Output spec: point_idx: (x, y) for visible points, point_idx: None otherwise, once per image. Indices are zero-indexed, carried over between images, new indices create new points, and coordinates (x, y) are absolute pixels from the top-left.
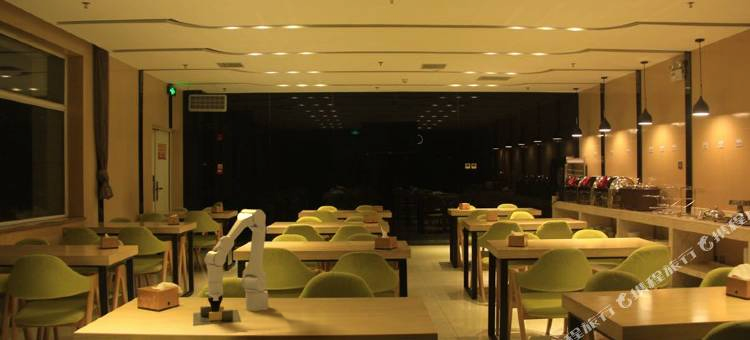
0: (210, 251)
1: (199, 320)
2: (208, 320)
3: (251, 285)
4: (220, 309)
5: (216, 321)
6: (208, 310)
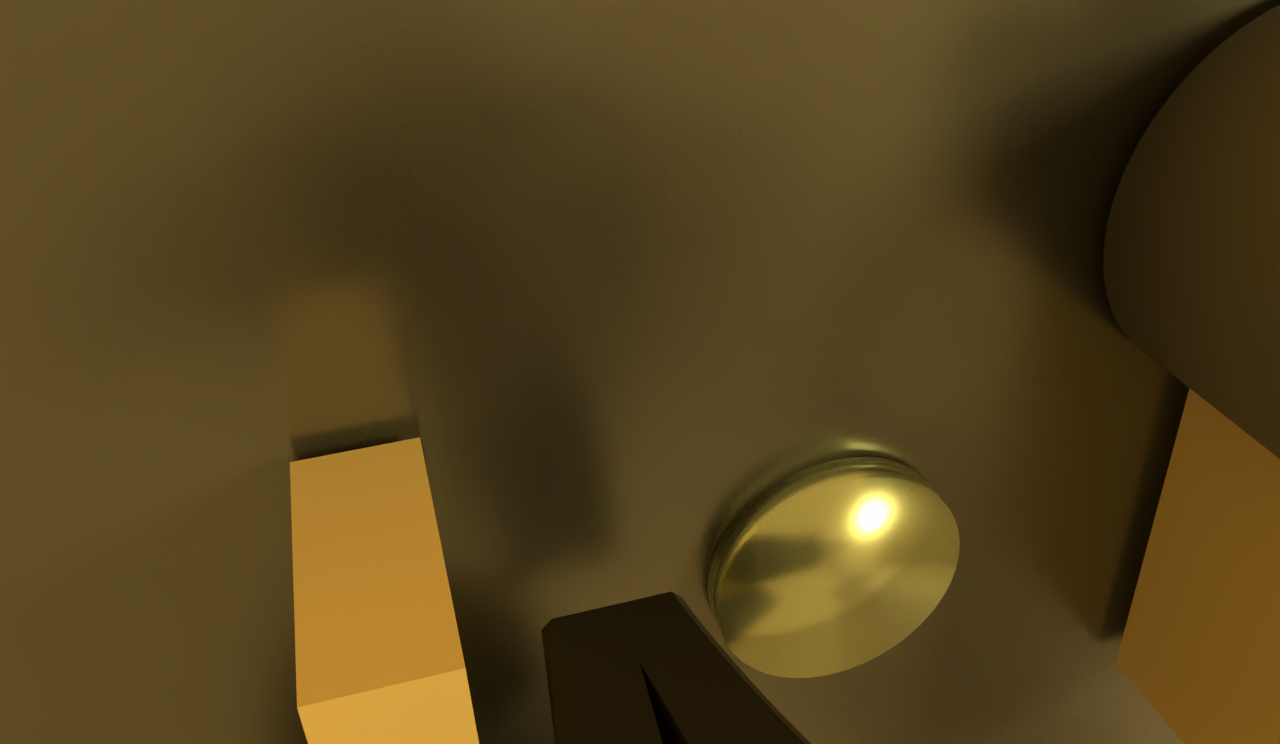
0: None
1: (487, 35)
2: (409, 408)
3: None
4: (1227, 700)
5: (183, 693)
6: (1245, 404)
